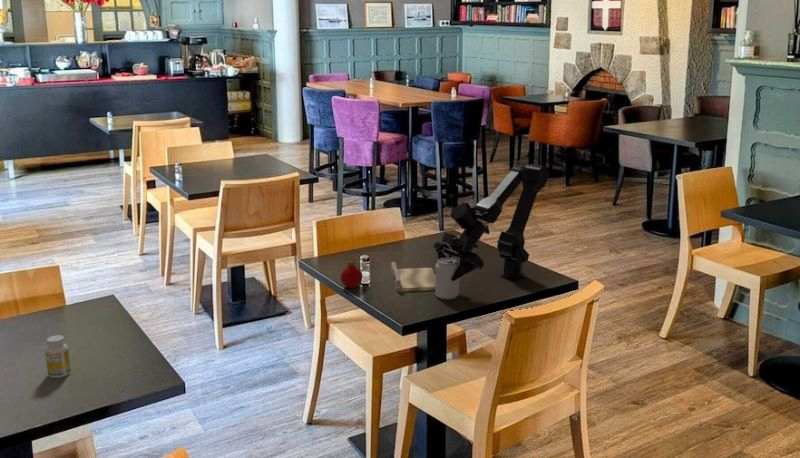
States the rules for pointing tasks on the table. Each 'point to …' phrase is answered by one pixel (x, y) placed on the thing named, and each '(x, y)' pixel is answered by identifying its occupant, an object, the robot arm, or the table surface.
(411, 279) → the beige tray
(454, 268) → the can
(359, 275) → the christmas ornament
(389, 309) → the table surface
